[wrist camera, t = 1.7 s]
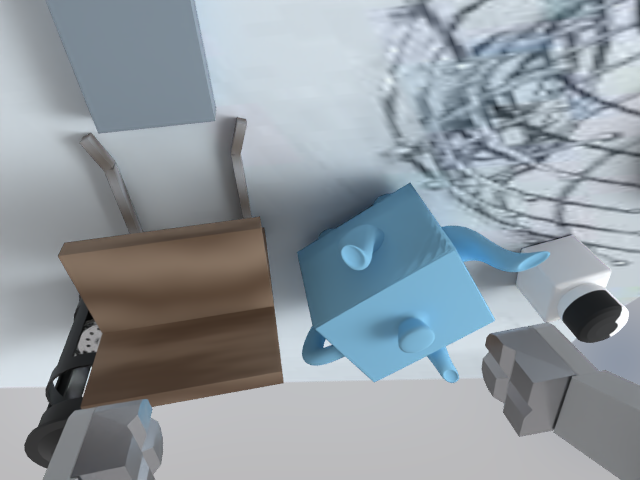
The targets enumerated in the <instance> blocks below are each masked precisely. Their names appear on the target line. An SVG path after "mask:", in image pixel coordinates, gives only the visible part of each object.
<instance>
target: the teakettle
mask: <svg viewBox="0 0 640 480" xmlns="http://www.w3.org/2000/svg"><path fill="white" fill-rule="evenodd" d="M297 254H298V259H299V263H300V268H301V273H302V278H303V282H304V287H305V292H306V297H307V301H308V306H309V311H310V315H311V320H312V325H313V326H312V327H311V329H310V331H309V333H308V335H307V337H306V340H305V342H304V345H303V350H302V356H303V359H304V361H305V362H306V363H308V364H310V365H317V366H318V365H323V364H327V363H330V362H333V361H335V360H338V359H340V358H343V357H347V358H348V359H349V360H350V361H351V362H352V363H353V364H354V365H355V366H357V367H358V368H359V369H360V370H361V371H362V372H363V373H364V374H365V375H367V376H368V377H369V378H370V379H371V380H372V381H373V382H376V381H378V380H380V379H382V378H384V377H386V376H388V375H390V374H392V373H394V372H396V371H398V370H400V369H402V368H404V367H406V366H408V365H410V364H412V363H414V362H416V361H418V360H420V359H422V358H424V357H426V356H427V357H428V358H429V359H430V361H431V362H432V363H433V365H434V366H435V367H436V369H437V370H438V372H439V373H440V375H441V376H442V377H443V378H444V379H445V380H446V381H447V382H450V383H454V382H456V381H458V379H459V375H458V372H457V370H456V368H455V367H454V365H453V363H452V361H451V359H450V357H449V355H448V352H447V349H446V346H447V345H449V344H451V343H453V342H455V341H457V340H459V339H461V338H463V337H465V336H467V335H468V334H470V333H472V332H474V331H476V330H478V329H480V328H482V327H484V326H486V325H488V324H490V323H491V322H493V321H495V318H494V317H493V315H492V313H491V311H490V309H489V308H488V306H487V304H486V302H485V300H484V299H483V297H482V295H481V293H480V291H479V290H478V288H477V286H476V284H475V282H474V281H473V279H472V277H471V275H470V273H469V272H468V270H467V268H466V266H465V264H464V263H463V262H466V261H472V260H477V261H482V262H484V263H487V264H489V265H491V266H493V267H495V268H497V269H499V270H502V271H507V272H521V271H525V270H528V269H530V268H533V267H535V266H537V265H539V264H541V263H542V262H544V261H545V260H546V259H547V258H548V257H549V256H550V253H549V252H548V251H540V252H532V253H517V252H512V251H509V250H506V249H504V248H502V247H500V246H498V245H496V244H495V243H493V242H491V241H490V240H488V239H487V238H485V237H484V236H482V235H481V234H479V233H477V232H476V231H473V230H471V229H469V228H466V227H461V226H445V227H441V226H440V225H439V223H438V222H437V221H436V219H435V218H434V216H433V215H432V213H431V212H430V211H429V209H428V208H427V206H426V205H425V203H424V202H423V200H422V199H421V198H420V196H419V195H418V193H417V192H416V190H415V189H414V187H413V186H412V185H411V183H409V184H407V185H405V186H404V187H402V188H400V189H399V190H397V191H396V192H394V193H392V194H385V195H382V196H380V197H379V198H377V199H376V200H375V202H374V204H373V206H371V207H370V208H368V209H366V210H365V211H363V212H361V213H360V214H358V215H357V216H355V217H353V218H352V219H350V220H348V221H347V222H345V223H344V224H342V225H340V226H339V227H337V228H336V229H328V230H325V231H324V232H322V233H321V234H320V236H319V238H318V240H316V241H315V242H313V243H311V244H310V245H308V246H307V247H305V248H303V249H302V250H300V251H299V252H297ZM325 339H327V340H328V341H329V342H330V343H331V344H332V345H331V346H328V347H325V348H323V346H324V342H325Z"/></svg>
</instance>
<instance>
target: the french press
mask: <svg viewBox="0 0 640 480" xmlns="http://www.w3.org/2000/svg"><path fill="white" fill-rule="evenodd" d="M101 336H102V332H101V331H100V329H99V327H98V325H97V324H96V322H95V320H94V318H93V317H92V315H91V313H90V311H89V310H88V308H87V306H86V304H85V303H84V301H83V299H82V297H81V296H79V304H78V306H77V309H76V312H75V314H74V323H73V325H72V328H71V331H70V333H69V336H68V338H67V341H66V344H65V346H64V349H63V352H62V354H61V357H60V360H59V362H58V365H57V366H56V368H55V369H54V370H53V372H52V374H51V377H50V380H49V382H48V385H47V387H46V397H47V400H48V402H49V405H48V407H47V410H46V411H45V413H44V414H43V415H42V417H41V420H40V423H39V425H38V427H37V428H35V429H34V430H33V431H32V432H31V433H30V434H29V435H28V437H27V440H26V442H25V445H24V446H25V452H26V454H27V456H28V457H29V458H30V459H31V460H32V461H33V462H35V463H37V464H38V465H40V466H42V467H45V468H48V465H49V463H50V461H51V458H52V456H53V453H54V451H55V449H56V446H57V444H58V442H59V439H60V437H61V434H62V432H63V430H64V427H65V425H66V422H67V420H68V418H69V416H70V415H71V414H72V413H73V412H74V411H76V410H82V409H81V407H80V406H81V403H82V400H83V397H82V394H83V391H84V388H85V384H86V381H87V378H88V374H89V371H90V368H91V367H92V366H93V363H94V359H95V356H96V353H97V349H98V346H99V343H100V339H101ZM58 376H59V377H58ZM57 377H58V380H57V383H56V385H55V387H54V384H53V380H54V379H55V378H57Z"/></svg>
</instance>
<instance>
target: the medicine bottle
mask: <svg viewBox="0 0 640 480" xmlns="http://www.w3.org/2000/svg"><path fill="white" fill-rule="evenodd" d="M540 251H548V252H549V253H550V256H549V257H548V258H547V259H546V260H545V261H544V262H542V263H541V264H539V265H537V266H535V267H533V268H530V269H528V270H525V271H521V272H518V275H517V282H516V286H517V288H518V289H519V290H520V291H521V293H522V294H523V295H524V296H525V298H526V299H527V300H528V302H529V303H530V304H531V305H532V307H533V308H534V309H535V310H536V312H537V313H538V314H539V316H540V317H541V318H542V319H543V321H544V322H546V323H549V322H553V321H556V320H560V319H561V320H562V321H563V322H564V323H565V324H566V326H567V327H568V328H569V329H570V330H571V332H572V333H573V334H574V335H575V336H576V338H577V339H578V340H580V341H582V342H586V343H593V342H598V341H601V340H604V339H607V338H609V337H611V336H613V335H614V334H616V333H617V332H618V331H619V330H620V329H621V328H622V327H623V326H624V325H625V324H626V322H627V320H628V314H629V313H628V310H627V309H626V307H625V306H624V305H623V304H621V303H620V302H619V301H618V300H617V299H616V298H615V297H614V296H613V295H612V294H611V293H610V292H609V291H608V290H607V289H606V285H607V283H608V280H609V277H610V274H611V269H610V268H609V267H608V266H607V265H606V264H605V263H603V262H602V261H601V260H600V259H599V258H598V257H597V256H596V255H595V254H594V253H593V252H591V251H590V250H589V249H588V248H587V247H586V246H585V245H584V244H583V243H582V242H580V241H579V240H578V239H577V238H576V237H575V236H573V235H570V236H567V237H563V238H559V239H556V240H552V241H548V242H545V243H541V244H537V245H534V246H530V247H526V248H523V249H522V250H521V253H532V252H540Z"/></svg>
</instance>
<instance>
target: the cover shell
mask: <svg viewBox="0 0 640 480" xmlns="http://www.w3.org/2000/svg"><path fill="white" fill-rule="evenodd" d="M46 3H47V5H48V8H49V10H50V13H51V15H52V18H53V20H54V23H55V25H56V28H57V30H58V33H59V35H60V38H61V40H62V43H63V45H64V48H65V51H66V53H67V56H68V58H69V61H70V63H71V66H72V68H73V71H74V73H75V76H76V78H77V81H78V83H79V86H80V88H81V91H82V93H83V96H84V98H85V101H86V103H87V106H88V109H89V111H90V114H91V116H92V119H93V121H94V124H95V126H96V129H97V131H98V133H108V132H117V131H126V130H136V129H145V128H155V127H164V126H173V125H183V124H192V123H201V122H211V121H215V115H216V106H215V101H214V96H213V91H212V86H211V81H210V76H209V71H208V66H207V61H206V56H205V51H204V46H203V41H202V36H201V31H200V26H199V21H198V16H197V11H196V6H195V1H194V0H46Z"/></svg>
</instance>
